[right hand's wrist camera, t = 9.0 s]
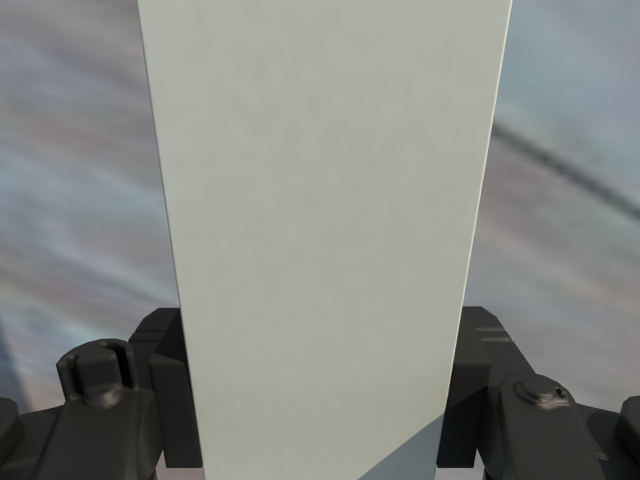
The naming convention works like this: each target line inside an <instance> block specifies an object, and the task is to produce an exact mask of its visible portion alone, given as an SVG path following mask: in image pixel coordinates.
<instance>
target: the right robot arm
mask: <svg viewBox="0 0 640 480" xmlns="http://www.w3.org/2000/svg"><path fill="white" fill-rule="evenodd" d="M56 367H57V371H58V375H59V378H60V382H61V386H62V389H63V393H64V396H65V400H66V401H65V403H64V405H61V406H58V407H54V408H50V409H46V410H41V411H37V412H32V413H28V414H23V415H20V412H19V409H18V406H17V404H16V403H15V402H14V401H12V400H11V399H8V398H1V397H0V480H158V479H157V474H156V468H155V467H156V465H157V463H158V460H159V458H160V455H161V453H162V450H163V452H164V457H165V463H166V468H202V466H203V465H202V458H201V451H200V444H199V437H198V430H197V423H196V416H195V410H194V403H193V396H192V389H191V382H190V375H189V368H188V361H187V354H186V347H185V340H184V333H183V326H182V319H181V312H180V308H158V309H156V310H155V311H153V312H152V313H151V314H149V315H148V316H146V317H145V318H144V319H143V320H142V321H141V323H140V324H139V326H138V327H137V329H136V330H135V333H133V334H132V336H131V337H130V339H129V340H128V342H126V341H124V340H120V339H100V340H95V341H91V342H87V343H85V344H82V345H80V346H78V347H75V348H73V349H72V350H71V351H69V352H68V353H66V354H65V355H63V356H62V357H61V359H60V360H59V361H58V363H57V364H56ZM477 449H478V451H479V454H480V456H481V459H482V461H483V464H484V466H485V468H484V474H483V479H482V480H640V396H633V397H629V398H628V399H627V400H626V401H624V402H623V405H622V408H621V411H620V413H616V412H612V411H607V410H602V409H598V408H593V407H589V406H585V405H581V404H578V403H575V400H574V399H573V397H572V396H571V394H570V393H569V391H568V390H567V389H565V388H564V387H563V386H562V385H560V384H559V383H558V382H556V381H554V380H552V379H550V378H548V377H546V376H543V375H539V374H536V373H535V372H534V370H533V369H532V367H531V366H530V364H529V363H528V362H527V360H526V359H525V357H524V356H523V354H522V353H521V352H520V350H519V349H518V347H517V346H516V344H515V343H514V342H513V341H512V340H511V337H510V336H509V334H508V333H507V332H506V331H505V330H504V327H503V326H502V324H501V323H500V322H499V320H498V319H497V317H496V316H494V315H493V314H491V313H490V312H488V311H487V310H486V309H484V308H483V307H462V311H461V317H460V323H459V329H458V335H457V341H456V348H455V354H454V360H453V366H452V372H451V378H450V384H449V390H448V396H447V402H446V409H445V415H444V421H443V427H442V433H441V439H440V445H439V451H438V458H437V467H438V468H473V467H474V461H475V455H476V450H477Z"/></svg>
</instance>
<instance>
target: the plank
mask: <svg viewBox="0 0 640 480" xmlns="http://www.w3.org/2000/svg"><path fill="white" fill-rule="evenodd" d="M136 4H137V11H138V18H139V25H140V32H141V39H142V46H143V53H144V60H145V67H146V74H147V81H148V88H149V95H150V102H151V109H152V116H153V123H154V130H155V137H156V144H157V151H158V158H159V165H160V172H161V179H162V186H163V193H164V200H165V207H166V214H167V221H168V228H169V235H170V242H171V249H172V256H173V263H174V270H175V277H176V284H177V291H178V298H179V305H180V312H181V319H182V326H183V333H184V340H185V347H186V354H187V361H188V368H189V375H190V382H191V389H192V396H193V403H194V410H195V416H196V423H197V430H198V437H199V444H200V451H201V458H202V465H203V472H204V479H205V480H434V476H435V470H436V464H437V458H438V451H439V445H440V439H441V433H442V427H443V421H444V415H445V409H446V402H447V396H448V390H449V384H450V378H451V372H452V366H453V360H454V354H455V348H456V341H457V335H458V329H459V323H460V317H461V311H462V305H463V299H464V293H465V286H466V280H467V274H468V268H469V262H470V256H471V250H472V244H473V238H474V232H475V225H476V219H477V213H478V207H479V201H480V195H481V189H482V183H483V177H484V170H485V164H486V158H487V152H488V146H489V140H490V134H491V128H492V122H493V115H494V109H495V103H496V97H497V91H498V85H499V79H500V73H501V67H502V60H503V54H504V48H505V42H506V36H507V30H508V24H509V18H510V12H511V5H512V0H136Z"/></svg>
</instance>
